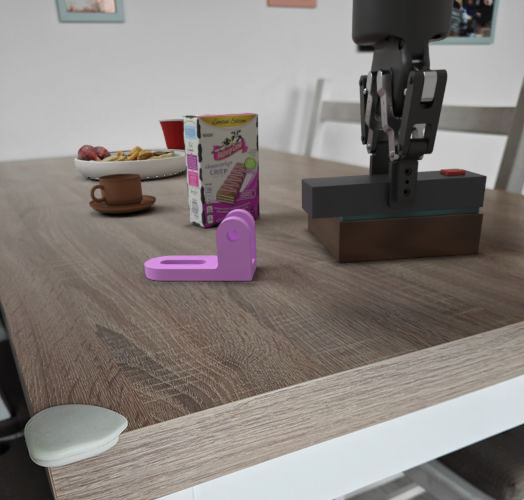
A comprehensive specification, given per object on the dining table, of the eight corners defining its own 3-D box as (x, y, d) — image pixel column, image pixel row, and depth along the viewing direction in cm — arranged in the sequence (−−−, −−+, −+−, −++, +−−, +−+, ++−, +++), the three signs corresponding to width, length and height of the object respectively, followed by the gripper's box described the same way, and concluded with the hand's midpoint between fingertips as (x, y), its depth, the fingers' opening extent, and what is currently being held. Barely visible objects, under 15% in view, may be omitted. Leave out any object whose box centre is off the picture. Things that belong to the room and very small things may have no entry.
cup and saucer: (130, 219, 95) (125, 182, 92) (76, 215, 99) (70, 180, 97) (169, 206, 105) (166, 172, 102) (118, 203, 109) (114, 171, 107)
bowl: (194, 165, 162) (192, 136, 158) (188, 180, 135) (185, 146, 131) (91, 169, 161) (86, 140, 157) (64, 185, 133) (58, 151, 130)
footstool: (420, 221, 87) (424, 182, 84) (478, 253, 69) (484, 205, 67) (307, 228, 85) (308, 188, 82) (338, 262, 68) (339, 213, 65)
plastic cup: (198, 155, 186) (195, 117, 181) (191, 159, 177) (188, 118, 171) (166, 156, 187) (163, 118, 182) (158, 160, 178) (154, 119, 173)
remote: (301, 208, 50) (301, 175, 49) (459, 197, 52) (462, 165, 50) (312, 219, 46) (312, 183, 45) (483, 207, 47) (487, 172, 46)
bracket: (256, 266, 67) (254, 208, 64) (251, 280, 62) (248, 218, 59) (153, 266, 69) (146, 210, 66) (139, 280, 64) (131, 220, 61)
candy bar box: (205, 229, 86) (196, 115, 79) (189, 224, 90) (179, 115, 83) (262, 218, 92) (259, 111, 85) (245, 214, 96) (241, 111, 89)
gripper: (500, -53, 35) (468, 216, 43) (416, -15, 48) (402, 186, 55) (386, -51, 34) (373, 222, 42) (332, -13, 47) (329, 191, 55)
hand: (390, 201), depth 49 cm, fingers closed on remote, 4 cm apart
